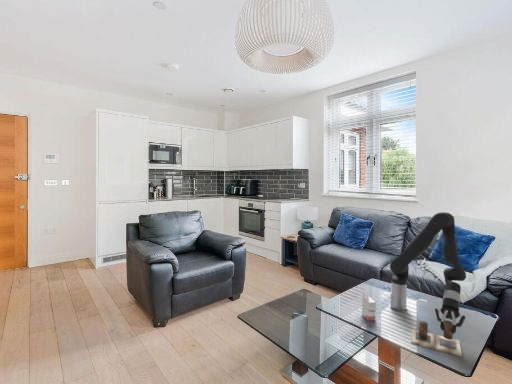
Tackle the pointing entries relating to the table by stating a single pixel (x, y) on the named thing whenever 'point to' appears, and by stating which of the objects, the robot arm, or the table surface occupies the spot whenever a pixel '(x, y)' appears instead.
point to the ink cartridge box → (368, 308)
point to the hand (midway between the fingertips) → (447, 331)
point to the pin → (423, 329)
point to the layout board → (437, 343)
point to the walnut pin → (448, 330)
